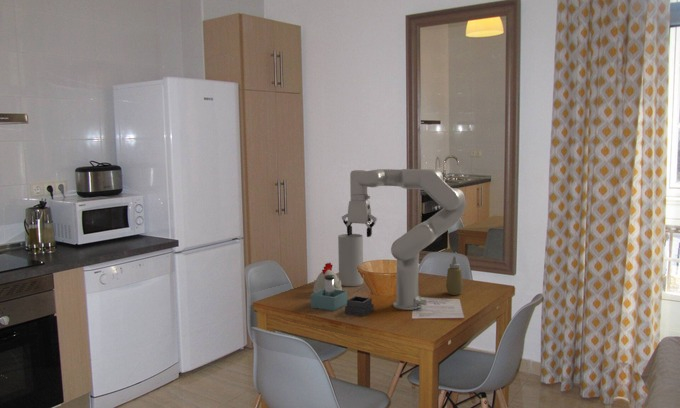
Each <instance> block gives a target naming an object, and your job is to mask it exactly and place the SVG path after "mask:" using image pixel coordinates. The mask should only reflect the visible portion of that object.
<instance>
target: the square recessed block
mask: <svg viewBox="0 0 680 408" xmlns="http://www.w3.org/2000/svg"><path fill="white" fill-rule="evenodd" d="M372 300H373V299H372V298H371V297H366V296H358V295H355V296H353V297H351V298H349V299H348V300H347V305H345V306H344V310H345V311H344V313H345V314H347V315H354V316H355V315H356V316H361V317H365V316H367V315H369V314H370V313H372V312H373V311H375V310H374V309H375V307H374V305H375V304H374V303H373V301H372Z"/></svg>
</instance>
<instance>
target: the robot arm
mask: <svg viewBox="0 0 680 408" xmlns="http://www.w3.org/2000/svg"><path fill="white" fill-rule="evenodd" d="M349 176H350V178H349V179H350V180H349V181H350V184H349V186H350V200H349V201H348V206H347V213H346V214H344V215H342V216H341V220H342V221H343V222H342V223H344V225H345V227H346V234H348V236H349V235H352V234H353V226H352V225H353V224H361V225H365V226H366V237H367V238H370V237H372V236H373V231H372V229H373V227H374V226H375V225H376V223H377V220H378V218H377V217H375V216H374V215H373V214H372V209H371V203H370V201H369V199H371V196H370V195H369V194H368V188H377V187H383V186H384V187H400V188H402V189H405V190H423V191H424V192H425V193H426V194H427V195H428V196H429V197H430V198H431V199H432V200H433V201H435V202H436V204H437V205H439V206H440V208H442V209H440V210H439V211H437V212H435V214H433V215H432V216H430V217H429V218H427V220H424V221H423V222H421V223H419V224H416V225H415V226H413V228H410V230H408V231H407V232H405V233H404V234H402V235H401V236H400V237H398V238H397V239H396V240H394V241H393V243H392V245H391V248H390V251H391V252H390V253H391V255H392V257H394V259H396V300H395V301H394V302H393V303H392V306H393V307H394V308H395V309H398V310H405V311H413V310H414V309H415V310H418V309H417V308H419V309H421V308H422V306H427V305H428V301H427V299H422V298H421V295H419V268H420V266H419V262H420V252H421V251H423V250H424V249H425V248H427V247H428V246H430V245H431V244H432V243H433V242H435V240H436V239H437V238H439V237H440V236H441V235H442V234H444V233H446V232H447V231H448V230H449V229H451V228H453V227H454V226H455V225H456V224H458V222H459V221H460V220H461V219H462V217H463V216H464V213H465V211H466V208H467V200H466V196H465V194H464V192H463V190H461V189H459V188H456V187H451V186H449V185H448V184H447V182H446V181H444V175H443V173H442V172H441V171H440V170H438V169H432V168H431V169H429V168H427V169H426V168H423V169H422V168H421V169H420V168H418V169H417V168H413V169H412V168H402V169H394V168H393V169H392V168H391V169H389V168H386V169H383V168H382V169H381V168H380V169H378V168H377V169H373V170H372V169H371V170H363V169H357V170H356V169H354V170H351V171H350V175H349ZM420 307H421V308H420Z"/></svg>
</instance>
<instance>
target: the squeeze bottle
mask: <svg viewBox="0 0 680 408" xmlns="http://www.w3.org/2000/svg"><path fill="white" fill-rule="evenodd" d="M460 266H461V264H460V263H458V259H457V256H455V255H454V256H453V257H452V262H450V263H449V268H447V274H446V281H445V282H446V283H445V287H446V291H447V294H449V295H451V296H459V295H461V294H462V290H463V288H464V282H463V271H462V268H461V267H460Z"/></svg>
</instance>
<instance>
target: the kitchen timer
mask: <svg viewBox="0 0 680 408" xmlns="http://www.w3.org/2000/svg"><path fill="white" fill-rule="evenodd" d="M332 269H333V264H332V263H331V262H326V263H325V265H324V266H323V269H322V270H321V272H319V274H318V276H317V277H316V279H314V280H313V284H314V285H313V289H312V294H313V293H315V292H317V291H319V290H321V289H324V288H325V278H324V276H325V275H334V289H336V290H343V287H342V285H341V280H339V276H337V274H336V273H335V272H334V271H333V270H332Z"/></svg>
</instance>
